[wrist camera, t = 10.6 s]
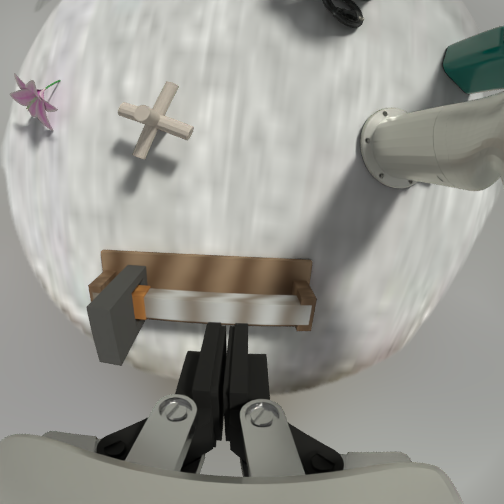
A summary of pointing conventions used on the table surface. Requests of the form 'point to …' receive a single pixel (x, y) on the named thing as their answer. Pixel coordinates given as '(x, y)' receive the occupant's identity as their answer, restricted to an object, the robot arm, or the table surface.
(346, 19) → the milk frother
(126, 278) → the dark grey tapered slab
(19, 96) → the lily
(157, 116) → the pipe connector
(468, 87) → the teal bottle
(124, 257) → the pipe stand
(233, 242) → the table surface
